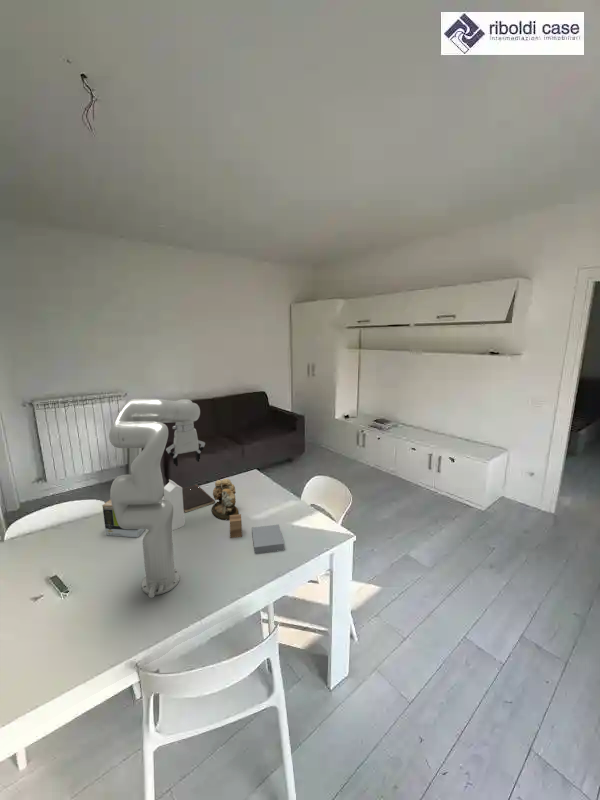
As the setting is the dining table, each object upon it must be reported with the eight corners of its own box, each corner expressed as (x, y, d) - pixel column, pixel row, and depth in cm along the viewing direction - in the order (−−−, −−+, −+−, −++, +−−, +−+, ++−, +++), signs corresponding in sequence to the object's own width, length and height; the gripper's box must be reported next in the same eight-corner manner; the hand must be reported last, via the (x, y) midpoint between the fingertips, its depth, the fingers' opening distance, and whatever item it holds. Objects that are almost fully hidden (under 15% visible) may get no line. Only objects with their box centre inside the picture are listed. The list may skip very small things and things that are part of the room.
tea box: (150, 525, 155) (147, 495, 152) (137, 538, 145) (134, 507, 142) (119, 522, 156) (116, 493, 153) (105, 535, 147) (101, 504, 144)
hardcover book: (185, 514, 165) (184, 509, 165) (169, 496, 183) (168, 492, 182) (215, 503, 175) (215, 499, 175) (197, 487, 193) (197, 484, 192)
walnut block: (241, 536, 147) (241, 520, 146) (230, 538, 146) (229, 521, 145) (241, 530, 152) (240, 514, 151) (230, 531, 151) (229, 515, 149)
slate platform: (283, 550, 139) (283, 543, 138) (254, 553, 136) (254, 547, 136) (278, 530, 152) (278, 524, 152) (251, 533, 150) (251, 527, 149)
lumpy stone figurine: (204, 508, 170) (203, 477, 167) (225, 501, 178) (224, 470, 174) (223, 523, 157) (222, 489, 154) (244, 515, 165) (244, 482, 161)
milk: (172, 530, 151) (168, 485, 146) (166, 525, 155) (162, 481, 150) (184, 525, 155) (181, 481, 151) (178, 520, 159) (175, 476, 155)
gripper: (166, 432, 143) (169, 469, 147) (206, 426, 153) (208, 461, 156) (162, 427, 149) (165, 464, 153) (201, 422, 159) (203, 456, 162)
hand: (187, 462), depth 155 cm, fingers open, 9 cm apart
